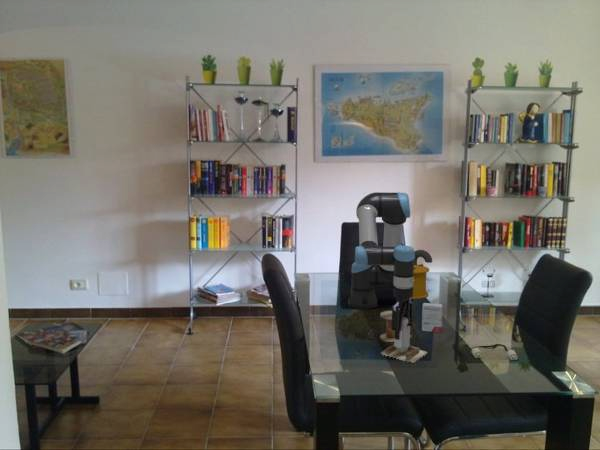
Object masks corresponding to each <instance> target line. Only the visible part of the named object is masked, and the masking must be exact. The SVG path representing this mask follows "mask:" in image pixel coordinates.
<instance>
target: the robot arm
mask: <svg viewBox="0 0 600 450" xmlns="http://www.w3.org/2000/svg"><path fill="white" fill-rule="evenodd" d="M355 211H356V212H355V213H356V217H357V219H358V236H359V238H358V239H359V242H358V243H359V245H358V246H356V247H355V248H354V262H353V263H352V264H351V270H350V273H351V287H350V288H351V291H350V293H349V296H348V299H347V305H348V306H349V307H350V308H352V309H357V310H358V309H359V310H370V309H375V308H376V307H378V299H377V296H376V293H375V287H393V288H392V290H393V293H392V295H393V297H395V300H396V301H395V304H391V311H392V326H391V330H393V331H395V338H394V343H393V344H394V346H395V347H399V348H401V347H402V331H401V326H402V319H403V317H406V318H407V319H408V324H407V331H408V337H409V341H410V340H411V339H410V334H411V327H412V326H414V325H413V323H414V302H415V299H412V297H413V287H412V286H413V282H414V258H415V255H414V252H415V248H414V247H412V246H409V245H402V238H403V226H404V224H405V223H407V219H409V218H410V217H411V206H410V197H409V194H408V193H406V192H400V191H397V192H379V191H378V192H377V191H376V192H371V193H368V194H367V195H365V196H364V197H363V198H362V199H361V200H360V201H359V202H358V204H357V206H356V210H355ZM377 218H381V220H382V222H383V223H384V226H383V227H384V228H383V229H384V230H383V244H382V246H379V243H378V232H377V231H378V230H377Z"/></svg>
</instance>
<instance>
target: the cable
mask: <svg viewBox="0 0 600 450" xmlns="http://www.w3.org/2000/svg"><path fill="white" fill-rule="evenodd" d="M498 346H499V347H503V348H504V350H505V352H506V355H507V356H508V359H509V360H510V361H517V360H518V354H517V353H516V351H515V350H514V349H509V350H508V348H507V346H506V345H505V344H501V343H500V344H499V343H495V344H493V345H477V346H474V347H472V350H471V354H472V355H473V357H474V358H475V359H478V358H479V359H480V358H482V357H483V353H482V351H481V350H480V349H479V348H483V349H485V348H486V349H487V348H495V347H498Z"/></svg>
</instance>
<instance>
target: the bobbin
mask: <svg viewBox="0 0 600 450" xmlns="http://www.w3.org/2000/svg"><path fill="white" fill-rule="evenodd" d="M380 317H381V318H382V319H384V320H386V321H385V322H386V323H385V324H386V325H385V326H386V331H385V332H384V333H381V334H380V335H379V339H380V338H381V339H382V340H383V341H382V340H381V339H380V340H381V341H382V342H384V341H386V342H385V343H387V342H394V338H395V331H393V330H391V326H392V310H384V311H381V312H380Z"/></svg>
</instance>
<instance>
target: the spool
mask: <svg viewBox="0 0 600 450" xmlns="http://www.w3.org/2000/svg"><path fill="white" fill-rule="evenodd" d="M419 265H420V264H417V265H414V282H413V286H412V287H413V297H412V299H414V300H417V299H418V300H419V299H425V298H428V297H429V292H428V291H427V273H428V272H430V268H429V267H428V266H424V265H423V266H419Z"/></svg>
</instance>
